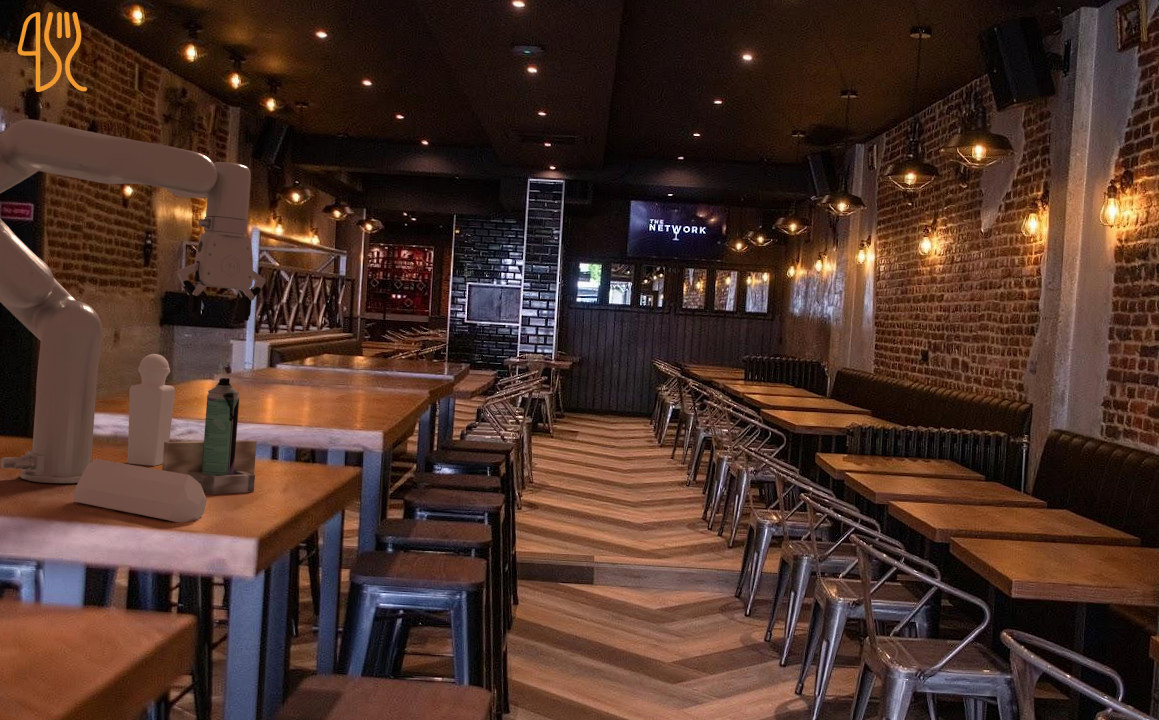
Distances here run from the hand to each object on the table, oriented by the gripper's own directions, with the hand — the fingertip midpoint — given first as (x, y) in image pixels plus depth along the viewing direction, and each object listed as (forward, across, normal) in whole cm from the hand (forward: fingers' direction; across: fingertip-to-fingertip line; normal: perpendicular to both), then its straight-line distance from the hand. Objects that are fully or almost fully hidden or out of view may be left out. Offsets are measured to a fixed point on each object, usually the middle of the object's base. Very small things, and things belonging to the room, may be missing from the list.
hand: (219, 318), depth 198 cm
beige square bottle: (+31, -4, +18) cm, 36 cm away
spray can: (+31, -4, -12) cm, 33 cm away
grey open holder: (+30, -4, -12) cm, 33 cm away
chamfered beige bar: (+31, -24, -26) cm, 47 cm away
